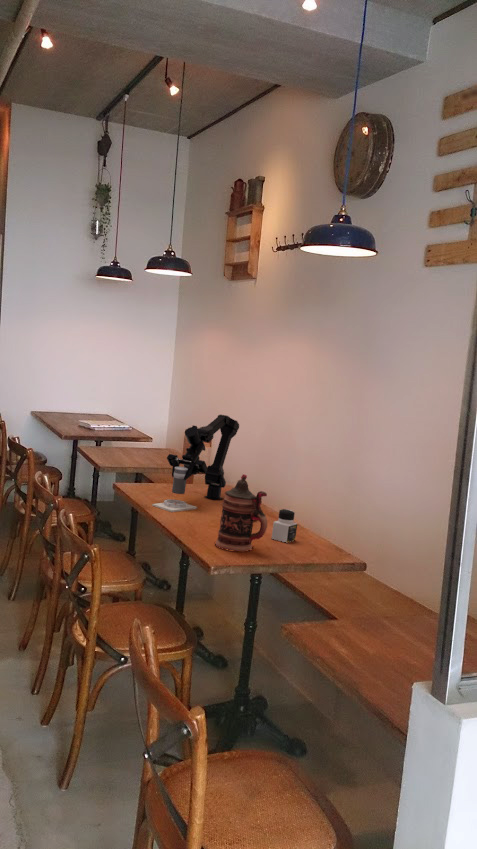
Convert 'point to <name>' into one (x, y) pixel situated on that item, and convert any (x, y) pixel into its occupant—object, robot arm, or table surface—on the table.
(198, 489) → the table surface
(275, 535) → the medicine bottle
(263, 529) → the beer stein
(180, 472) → the grey round piece
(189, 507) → the board
